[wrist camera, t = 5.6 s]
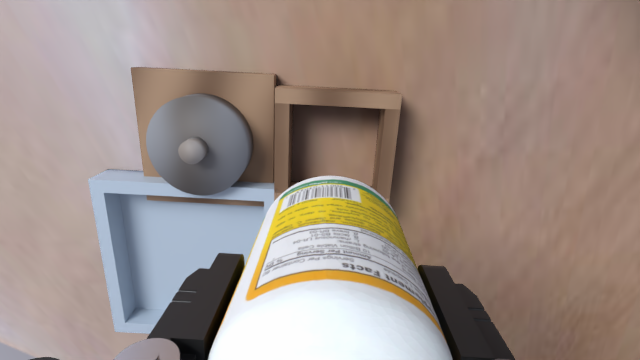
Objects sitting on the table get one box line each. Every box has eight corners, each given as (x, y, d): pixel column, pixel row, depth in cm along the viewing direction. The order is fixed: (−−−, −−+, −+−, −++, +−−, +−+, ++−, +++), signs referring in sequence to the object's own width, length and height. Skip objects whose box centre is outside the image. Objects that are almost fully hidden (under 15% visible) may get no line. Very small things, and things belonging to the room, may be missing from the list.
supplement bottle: (323, 142, 13) (307, 365, 4) (428, 231, 14) (621, 578, 5) (234, 243, 14) (61, 583, 5) (335, 316, 15) (344, 707, 6)
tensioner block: (396, 80, 26) (409, 84, 22) (382, 207, 29) (391, 232, 25) (139, 67, 26) (103, 69, 22) (153, 194, 29) (124, 217, 25)
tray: (281, 178, 28) (277, 189, 26) (279, 320, 33) (276, 340, 31) (108, 169, 29) (88, 179, 26) (130, 312, 33) (115, 331, 31)
